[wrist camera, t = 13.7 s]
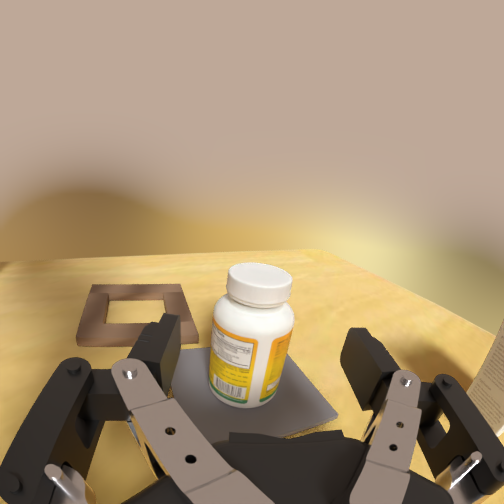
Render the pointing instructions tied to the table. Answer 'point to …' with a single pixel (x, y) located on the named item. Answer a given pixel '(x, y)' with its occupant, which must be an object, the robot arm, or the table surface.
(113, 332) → the walnut dock
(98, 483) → the table surface
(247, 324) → the supplement bottle
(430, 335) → the table surface
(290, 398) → the charcoal mat
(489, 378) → the small box
